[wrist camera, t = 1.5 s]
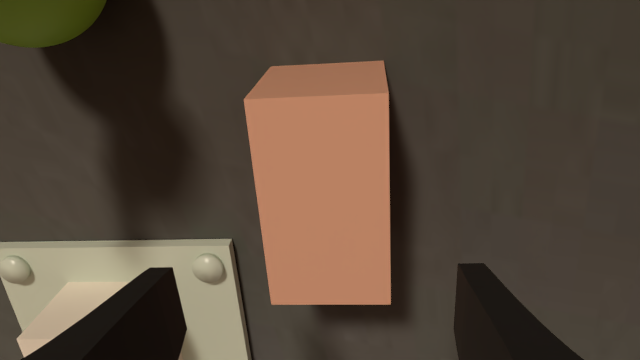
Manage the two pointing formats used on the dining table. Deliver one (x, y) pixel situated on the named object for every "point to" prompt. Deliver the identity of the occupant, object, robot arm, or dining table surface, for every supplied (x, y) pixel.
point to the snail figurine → (46, 20)
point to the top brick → (323, 182)
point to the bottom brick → (66, 312)
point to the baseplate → (126, 264)
